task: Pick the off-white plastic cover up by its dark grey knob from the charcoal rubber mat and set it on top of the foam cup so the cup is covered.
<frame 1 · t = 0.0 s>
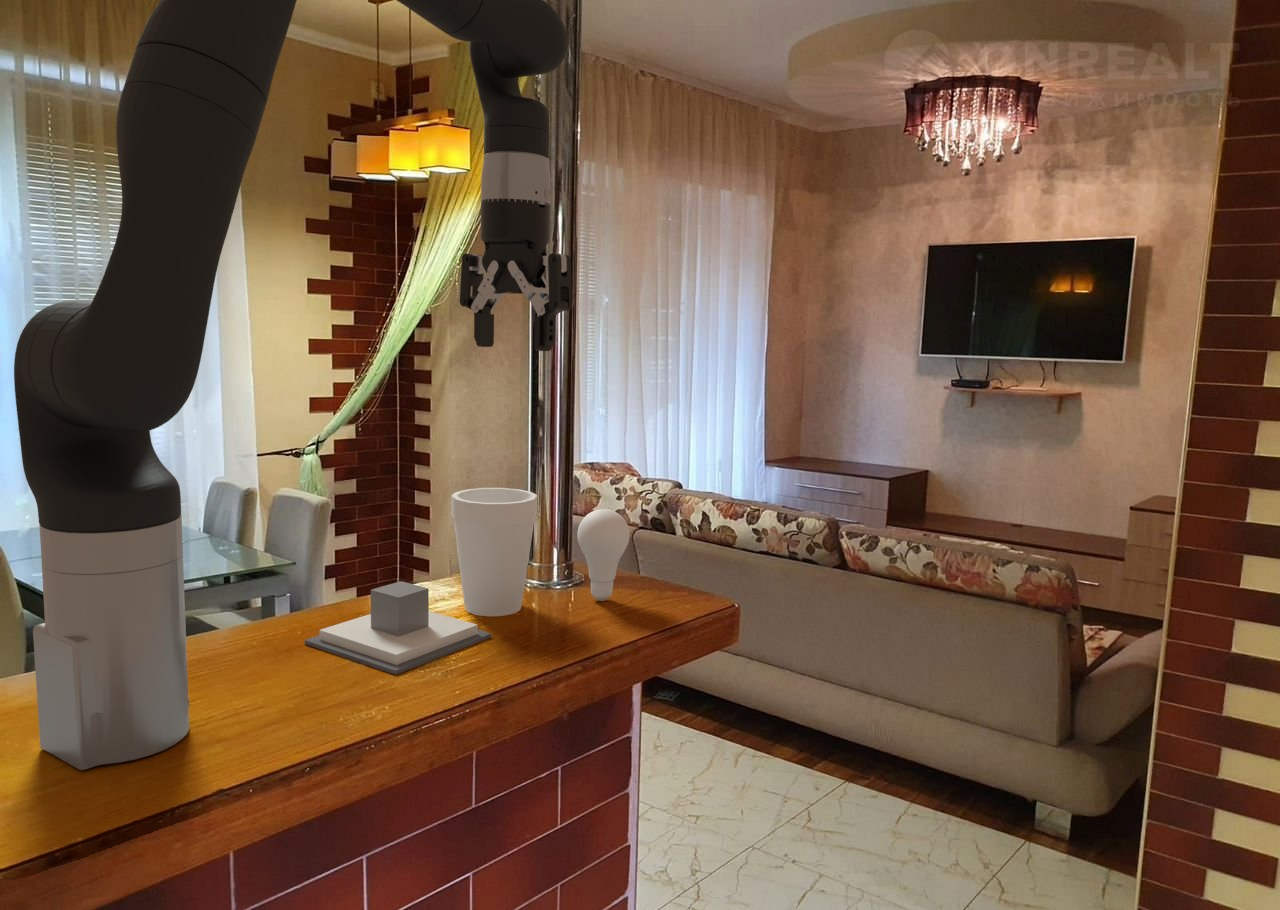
hand: (513, 348, 105), 29 cm above the table, tool pointing down, fingers open, 8 cm apart
cover: (399, 613, 95), on the mat
lightbulb: (601, 602, 111), on the table
mat: (399, 640, 96), on the table
foam cup: (493, 609, 107), on the table
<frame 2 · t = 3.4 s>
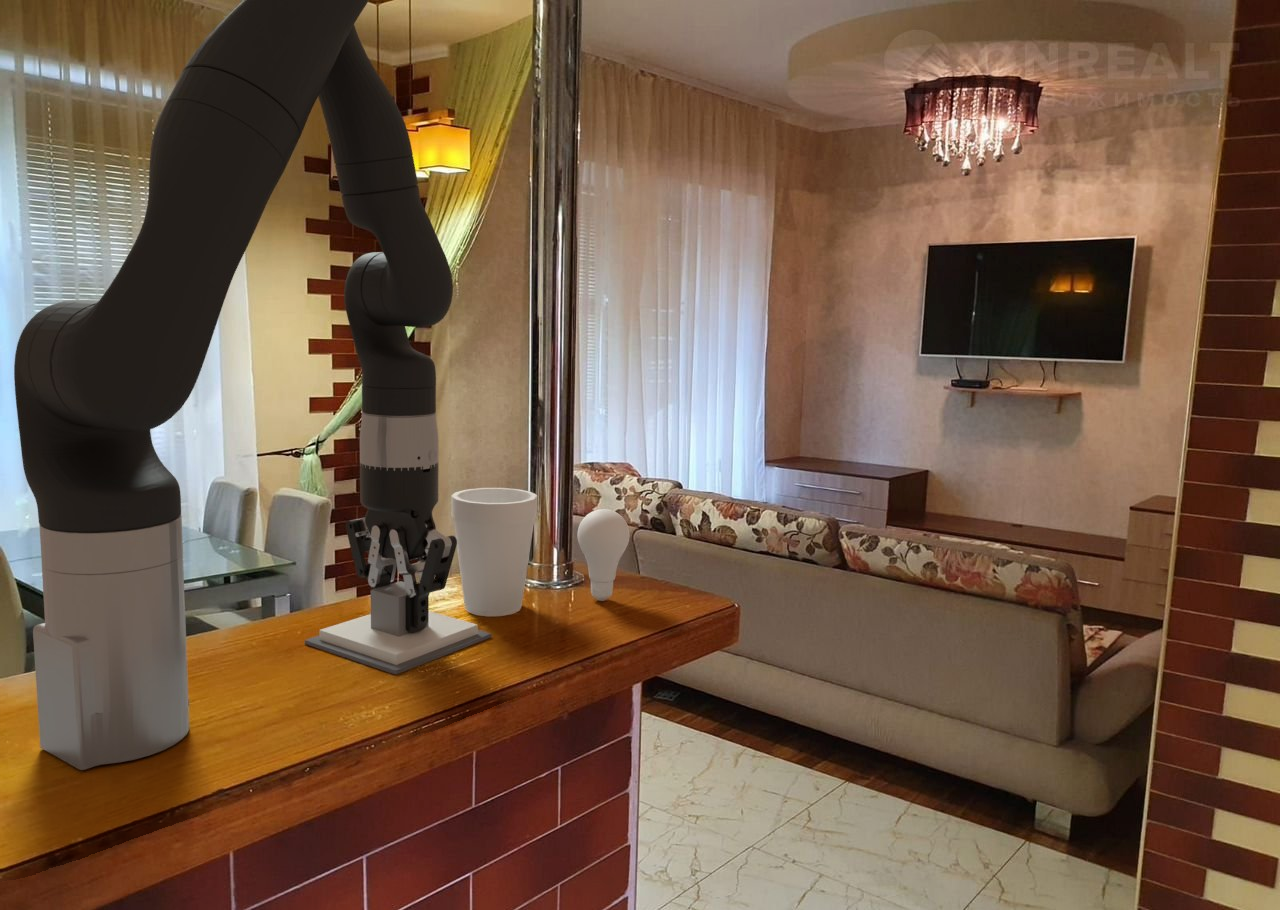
hand: (400, 624, 95), 2 cm above the table, tool pointing down, fingers closed on cover, 4 cm apart
cover: (399, 613, 95), on the mat, touching gripper
everything else where it was.
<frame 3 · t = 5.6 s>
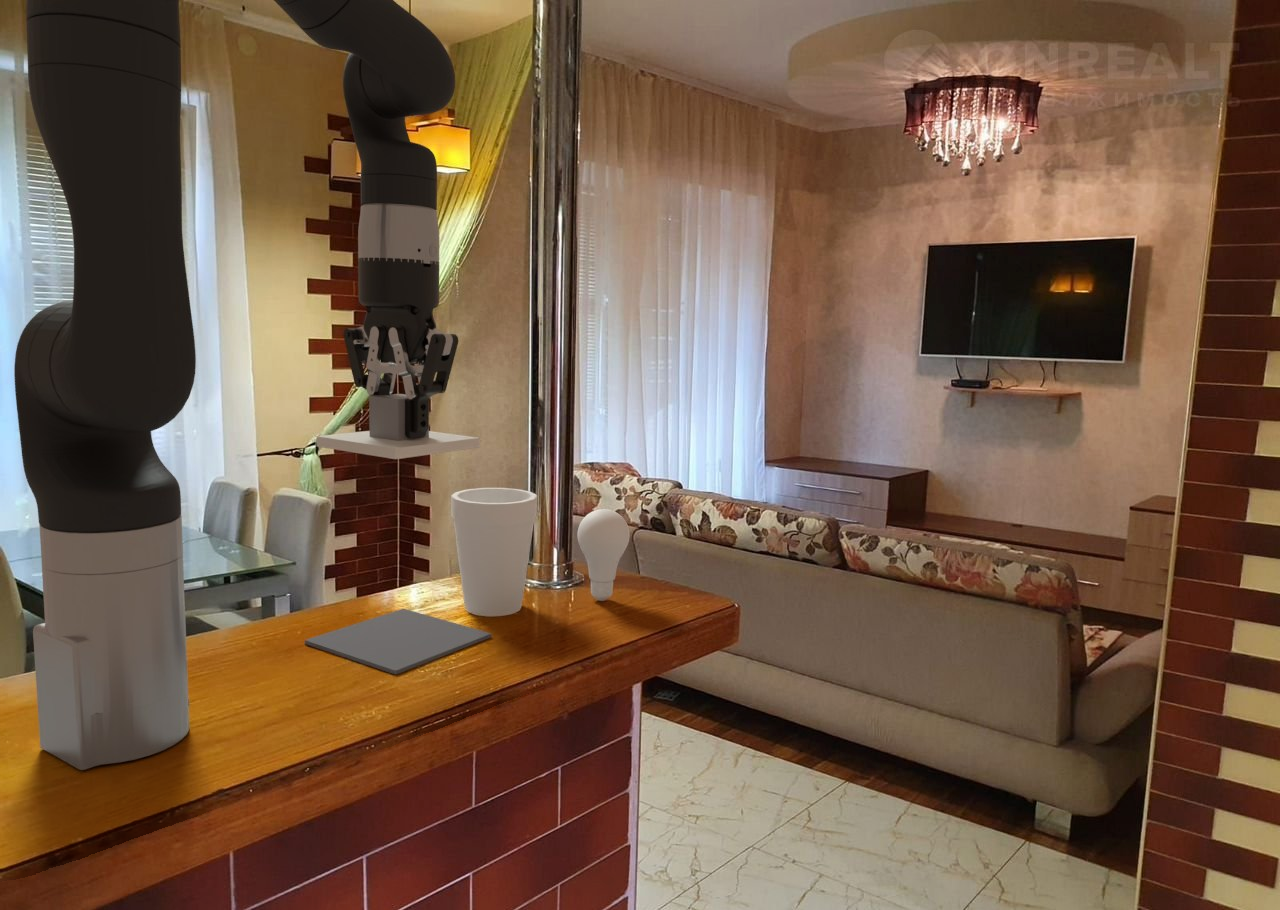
hand: (399, 434, 92), 21 cm above the table, tool pointing down, fingers closed on cover, 4 cm apart
cover: (399, 421, 92), point 22 cm above the table, touching gripper
everything else where it was.
when the fingers open (16 cm above the table, at t = 7.9 s): cover drops 1 cm, resting on foam cup.
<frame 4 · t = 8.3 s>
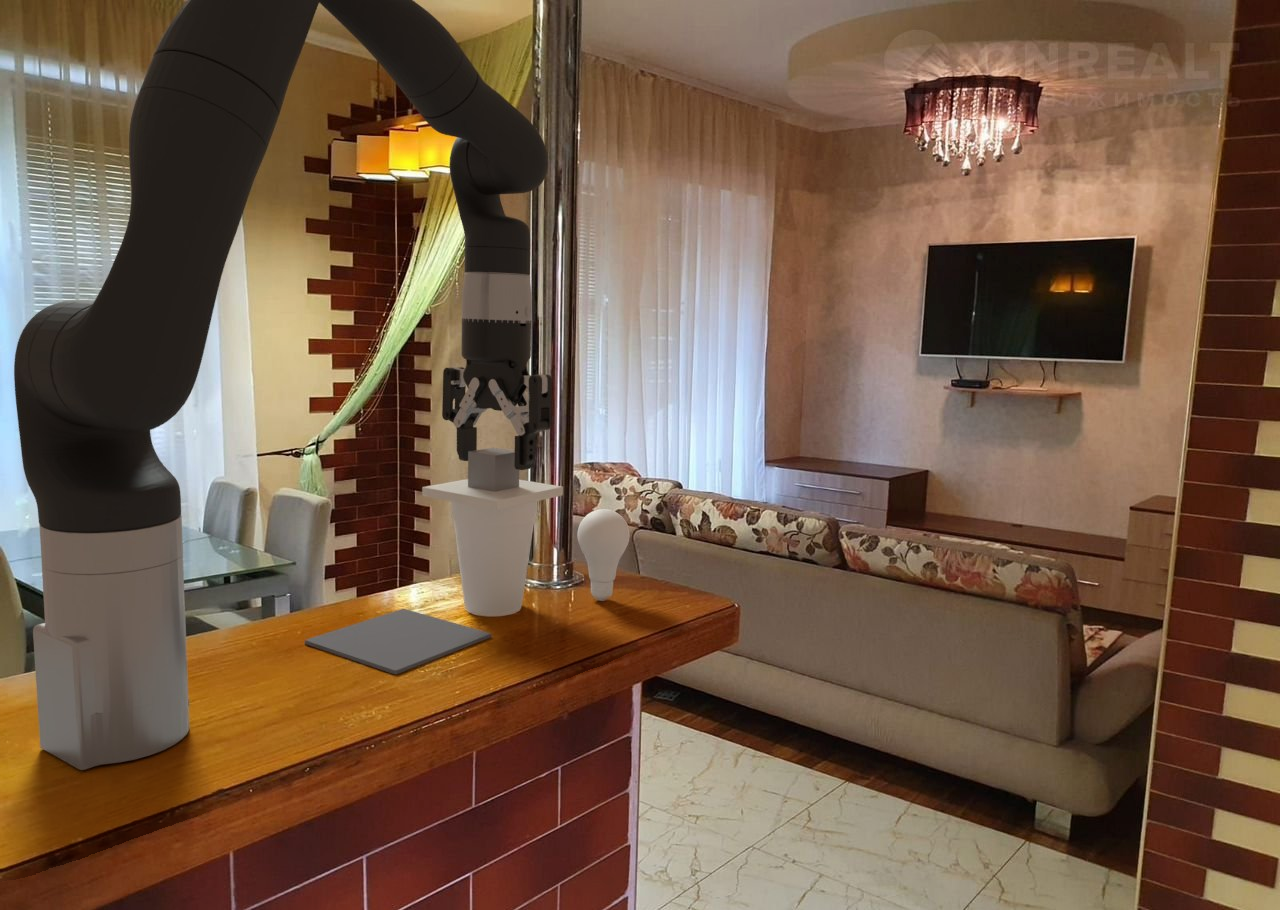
hand: (495, 464, 105), 17 cm above the table, tool pointing down, fingers open, 8 cm apart
cover: (493, 473, 105), point 16 cm above the table, touching foam cup
foam cup: (493, 609, 107), on the table, touching cover
everything else where it was.
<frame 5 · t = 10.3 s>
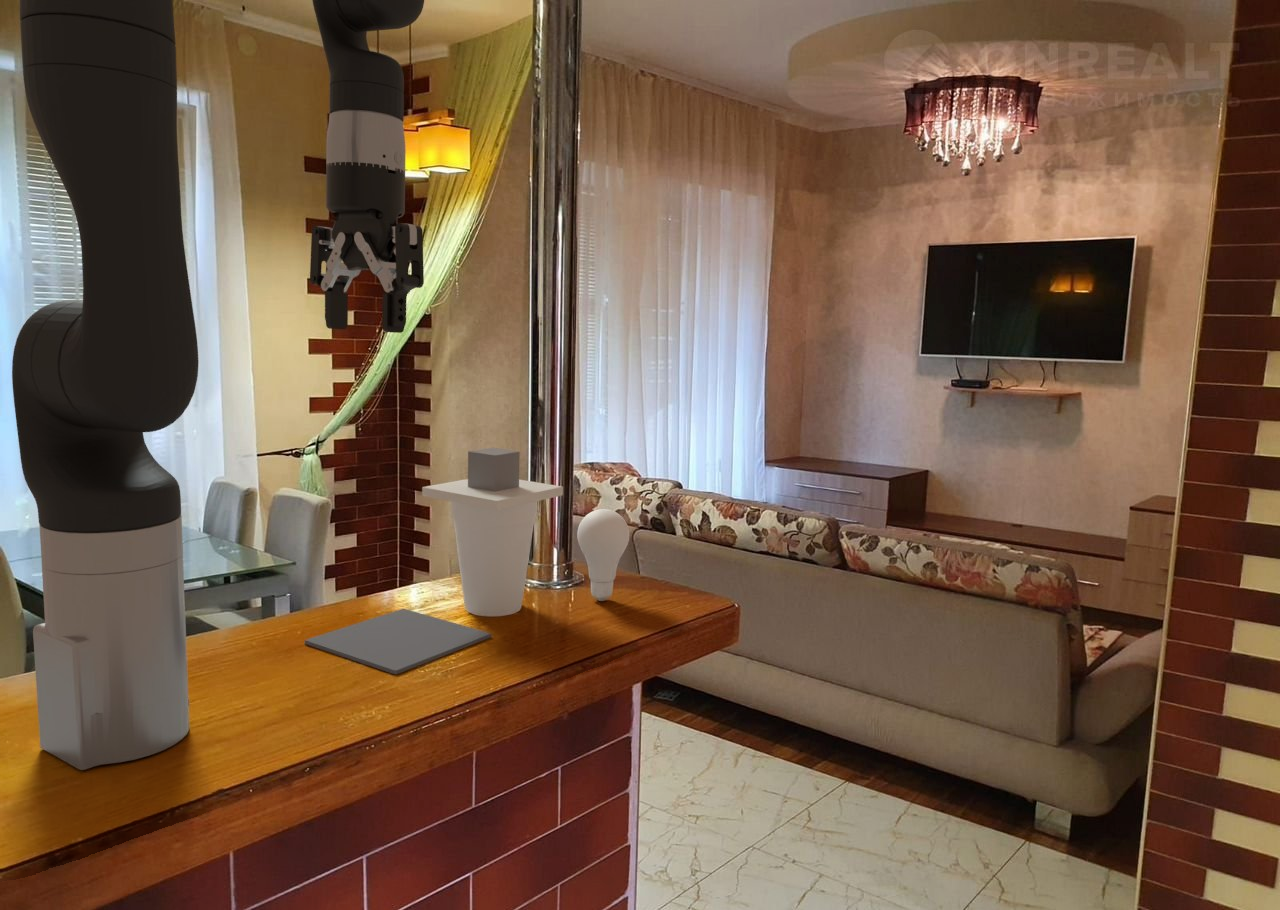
hand: (364, 330, 95), 31 cm above the table, tool pointing down, fingers open, 8 cm apart
nothing on the table moved.
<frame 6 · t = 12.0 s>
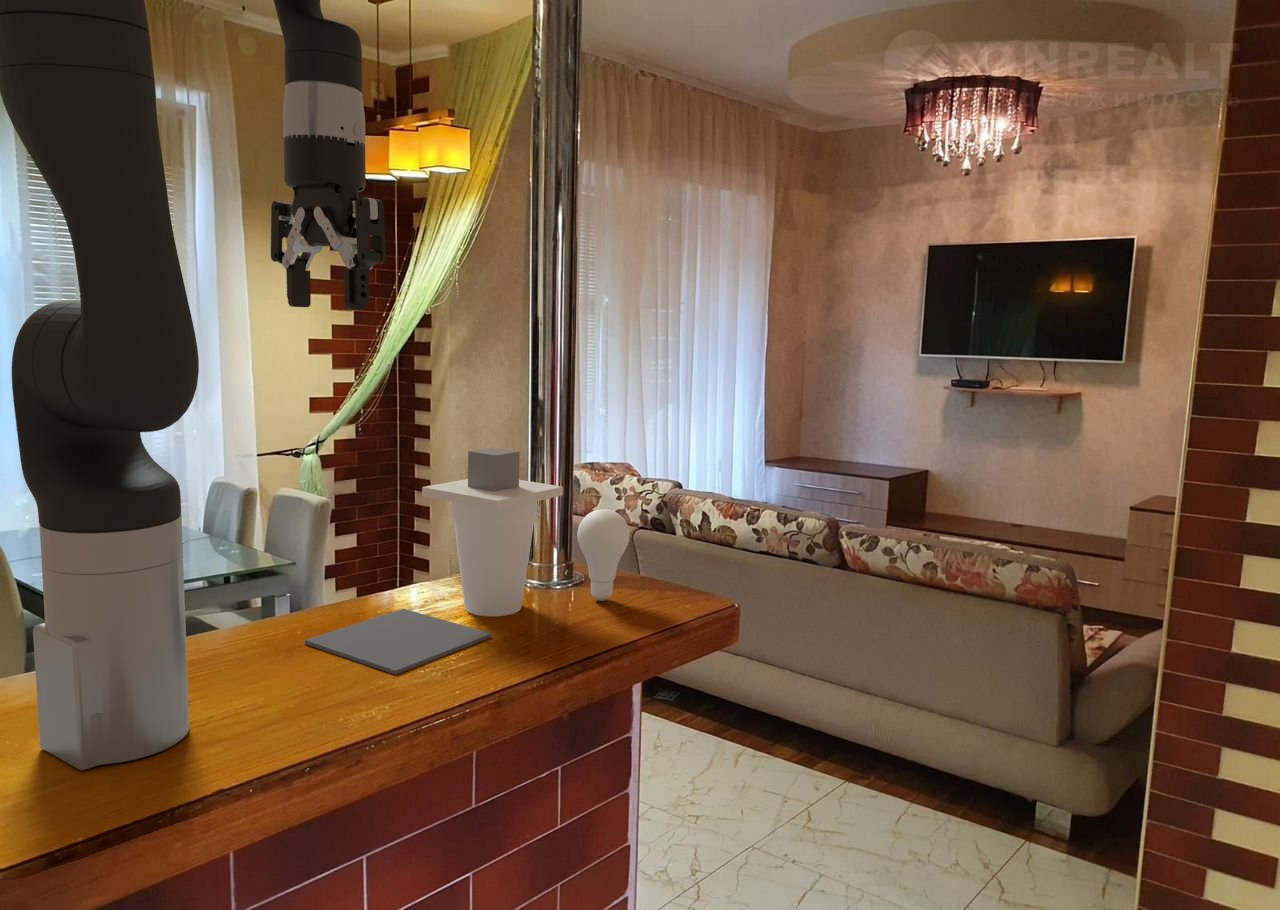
hand: (327, 308, 93), 33 cm above the table, tool pointing down, fingers open, 8 cm apart
nothing on the table moved.
at the end: cover 0.1 cm off-centre on the foam cup, point 15.7 cm above the foam cup's base; cover tilted 0°; foam cup tilted 0° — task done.
